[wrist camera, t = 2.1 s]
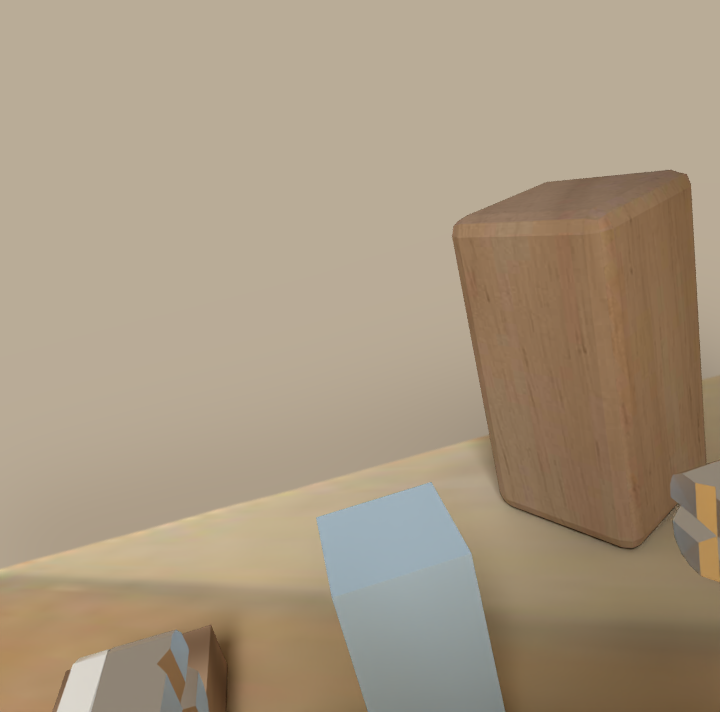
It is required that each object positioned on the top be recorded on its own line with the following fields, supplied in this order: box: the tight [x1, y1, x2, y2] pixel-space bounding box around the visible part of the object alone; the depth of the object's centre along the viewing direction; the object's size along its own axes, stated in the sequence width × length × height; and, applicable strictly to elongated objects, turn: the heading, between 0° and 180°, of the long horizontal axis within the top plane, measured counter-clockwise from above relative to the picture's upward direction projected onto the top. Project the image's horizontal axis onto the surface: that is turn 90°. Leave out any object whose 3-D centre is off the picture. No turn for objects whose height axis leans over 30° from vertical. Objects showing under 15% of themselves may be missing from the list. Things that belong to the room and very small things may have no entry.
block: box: [452, 170, 706, 548], centre depth 39 cm, size 10×10×20 cm
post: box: [316, 482, 505, 712], centre depth 26 cm, size 5×5×12 cm
